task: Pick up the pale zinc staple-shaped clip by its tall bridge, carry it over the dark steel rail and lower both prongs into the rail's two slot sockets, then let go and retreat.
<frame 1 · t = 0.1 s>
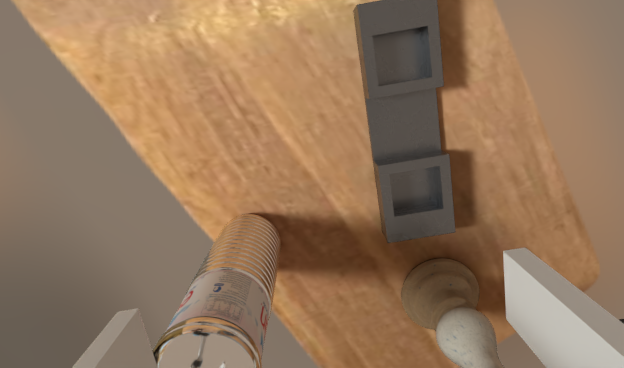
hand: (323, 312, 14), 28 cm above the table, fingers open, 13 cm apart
water bottle: (251, 239, 43), on the table
rail: (402, 123, 40), on the table
candle holder: (437, 290, 45), on the table
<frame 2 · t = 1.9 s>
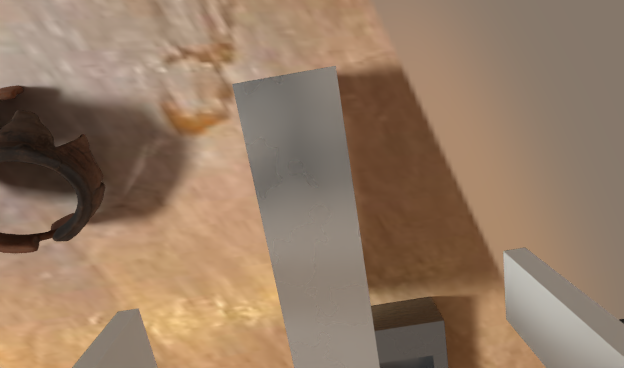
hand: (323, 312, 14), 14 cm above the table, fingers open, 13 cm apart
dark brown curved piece: (33, 162, 27), on the table
clip: (313, 190, 28), on the table
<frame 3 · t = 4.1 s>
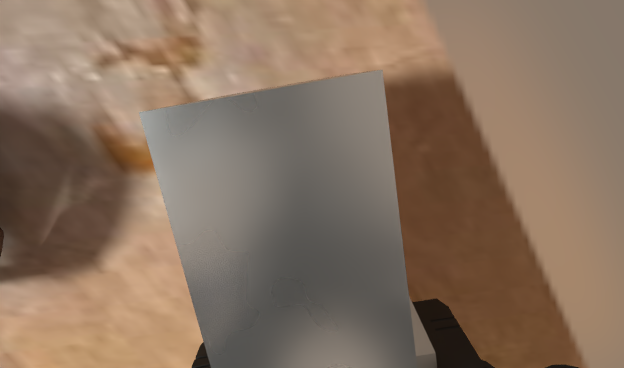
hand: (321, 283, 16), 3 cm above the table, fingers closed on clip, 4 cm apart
clip: (319, 251, 19), on the table, touching gripper
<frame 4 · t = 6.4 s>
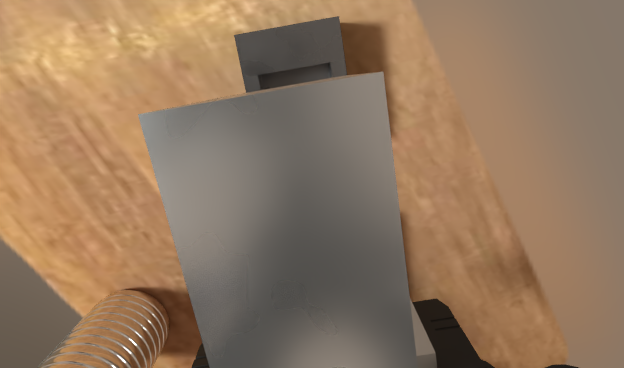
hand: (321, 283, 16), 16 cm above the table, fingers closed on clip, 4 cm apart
water bottle: (135, 318, 35), on the table
clip: (319, 252, 19), point 13 cm above the table, touching gripper
rail: (314, 180, 32), on the table
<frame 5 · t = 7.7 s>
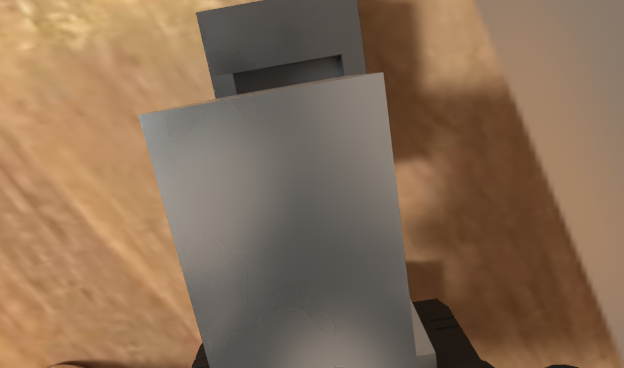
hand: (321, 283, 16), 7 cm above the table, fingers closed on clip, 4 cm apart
clip: (320, 252, 19), point 4 cm above the table, touching gripper
rail: (316, 219, 23), on the table
when the fingers open (4 cm above the table, at t = 8.8 s): clip stays where it is, resting on rail.
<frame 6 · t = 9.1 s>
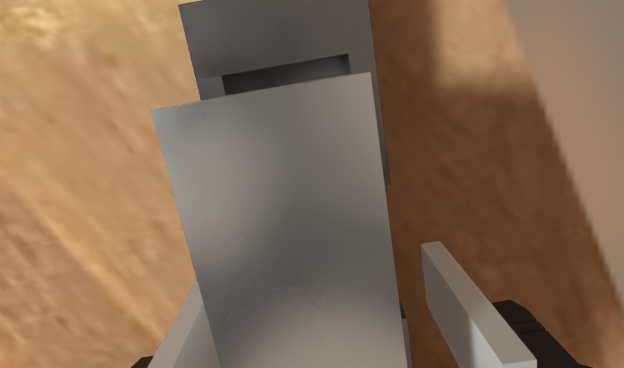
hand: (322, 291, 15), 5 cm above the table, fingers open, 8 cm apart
clip: (318, 245, 20), point 1 cm above the table, touching rail
rail: (319, 240, 20), on the table
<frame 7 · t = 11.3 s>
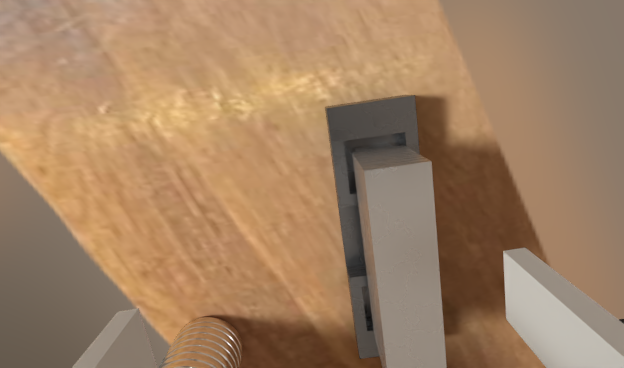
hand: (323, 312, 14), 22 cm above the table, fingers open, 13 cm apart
water bottle: (211, 342, 39), on the table
clip: (379, 228, 36), point 1 cm above the table, touching rail
rail: (379, 226, 36), on the table
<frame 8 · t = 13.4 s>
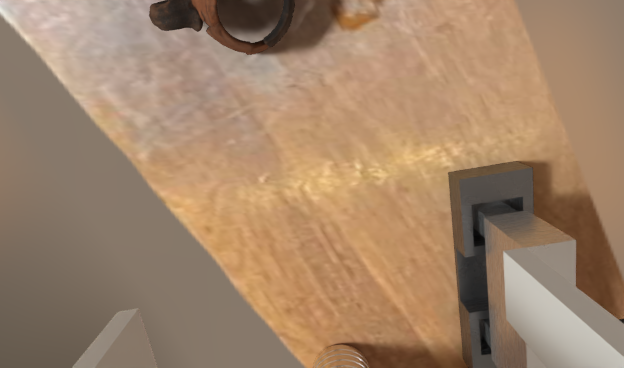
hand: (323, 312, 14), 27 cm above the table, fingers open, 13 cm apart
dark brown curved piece: (229, 4, 36), on the table
water bottle: (340, 365, 46), on the table
clip: (489, 269, 42), point 1 cm above the table, touching rail
rail: (487, 267, 43), on the table
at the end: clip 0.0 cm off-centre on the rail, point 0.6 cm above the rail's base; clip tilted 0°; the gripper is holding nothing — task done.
